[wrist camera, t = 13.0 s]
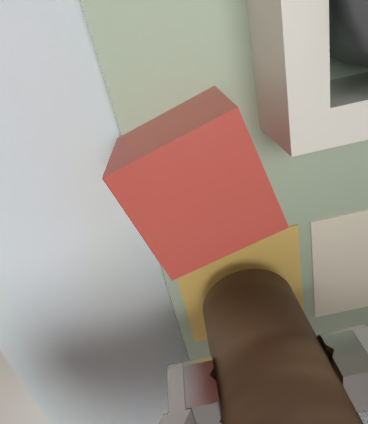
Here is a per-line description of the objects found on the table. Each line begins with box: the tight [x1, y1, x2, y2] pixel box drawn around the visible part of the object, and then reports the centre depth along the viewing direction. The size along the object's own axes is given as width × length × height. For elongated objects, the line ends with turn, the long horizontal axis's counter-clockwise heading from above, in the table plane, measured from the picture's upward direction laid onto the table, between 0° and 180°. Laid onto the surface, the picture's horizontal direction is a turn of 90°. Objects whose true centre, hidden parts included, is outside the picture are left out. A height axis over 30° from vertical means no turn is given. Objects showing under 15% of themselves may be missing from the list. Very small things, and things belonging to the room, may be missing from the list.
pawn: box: [203, 269, 363, 424], centre depth 10 cm, size 4×4×8 cm
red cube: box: [102, 86, 289, 281], centre depth 10 cm, size 4×4×4 cm
